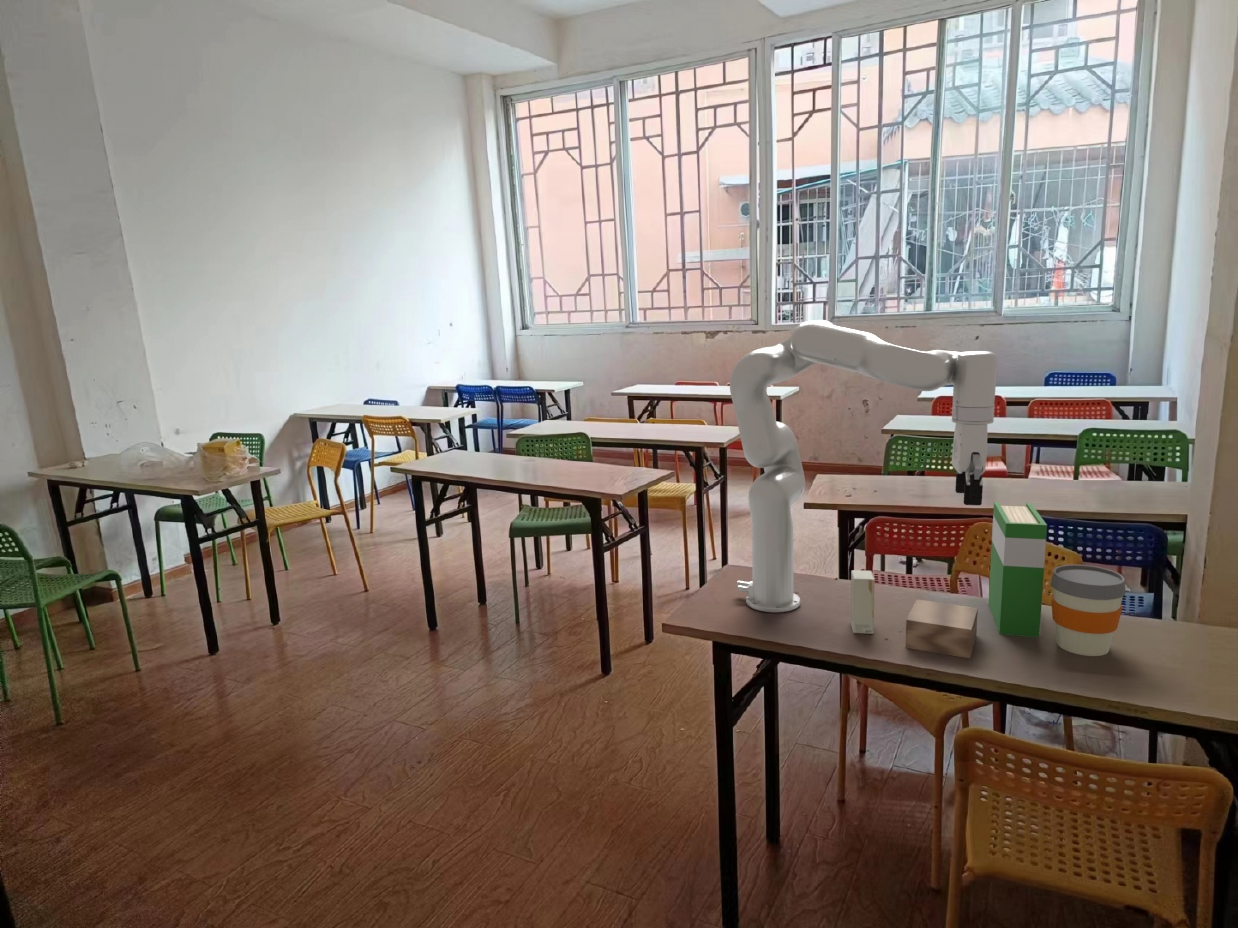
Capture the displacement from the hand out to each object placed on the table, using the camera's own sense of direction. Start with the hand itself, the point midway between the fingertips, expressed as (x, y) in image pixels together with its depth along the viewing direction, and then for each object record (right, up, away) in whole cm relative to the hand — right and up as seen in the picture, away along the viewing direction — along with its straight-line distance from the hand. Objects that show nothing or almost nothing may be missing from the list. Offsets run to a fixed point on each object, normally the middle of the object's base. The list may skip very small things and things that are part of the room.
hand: (968, 498), depth 154 cm
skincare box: (-18, -29, +11) cm, 36 cm away
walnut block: (-4, -30, +3) cm, 30 cm away
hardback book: (+15, -27, +12) cm, 34 cm away
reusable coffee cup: (+22, -30, -2) cm, 37 cm away
